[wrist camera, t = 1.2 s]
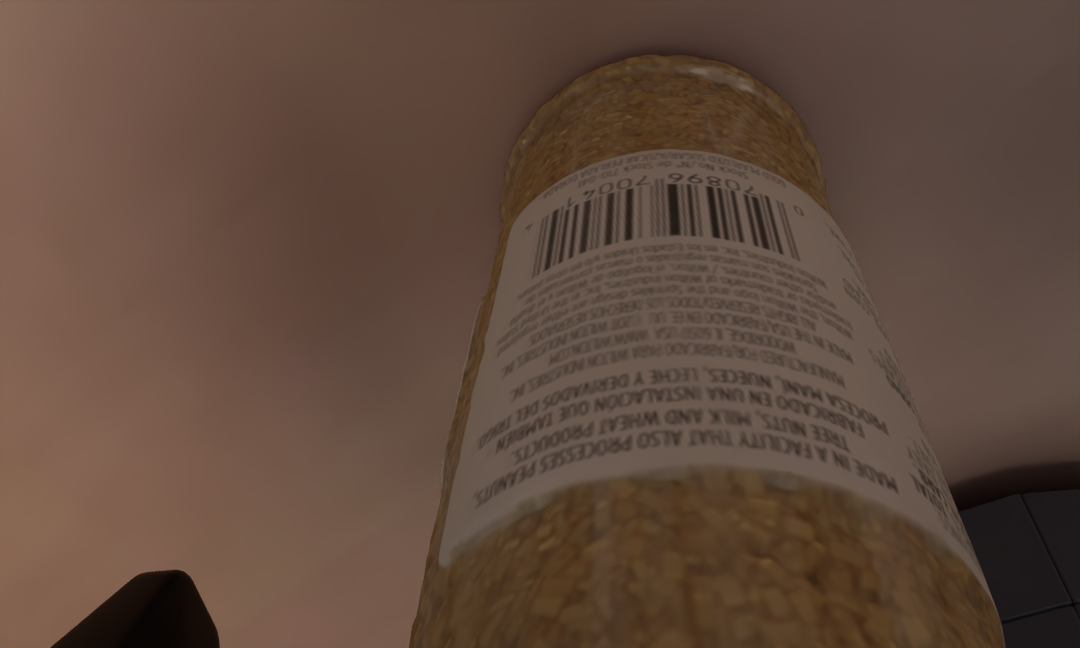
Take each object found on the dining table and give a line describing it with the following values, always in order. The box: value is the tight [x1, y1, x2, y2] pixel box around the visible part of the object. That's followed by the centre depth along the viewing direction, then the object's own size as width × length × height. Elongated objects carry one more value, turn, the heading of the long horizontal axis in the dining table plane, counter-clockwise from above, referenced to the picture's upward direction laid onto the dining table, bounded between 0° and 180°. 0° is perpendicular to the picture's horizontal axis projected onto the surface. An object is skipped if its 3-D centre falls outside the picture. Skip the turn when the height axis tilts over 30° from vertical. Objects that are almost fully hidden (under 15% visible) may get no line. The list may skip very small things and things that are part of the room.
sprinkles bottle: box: [409, 55, 1005, 648], centre depth 9 cm, size 5×5×13 cm
